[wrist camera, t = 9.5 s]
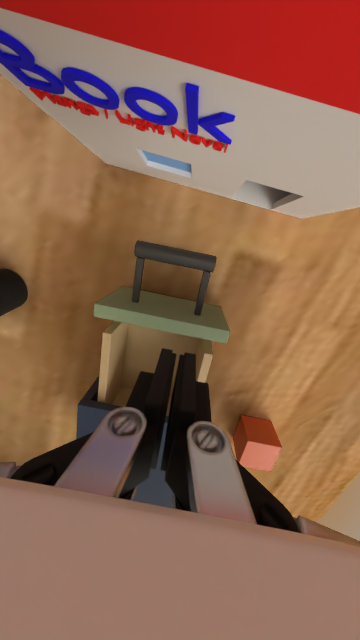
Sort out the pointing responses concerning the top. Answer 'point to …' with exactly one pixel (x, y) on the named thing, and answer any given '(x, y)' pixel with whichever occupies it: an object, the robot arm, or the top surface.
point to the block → (256, 443)
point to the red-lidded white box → (202, 91)
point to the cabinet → (154, 486)
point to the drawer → (156, 326)
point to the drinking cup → (11, 291)
